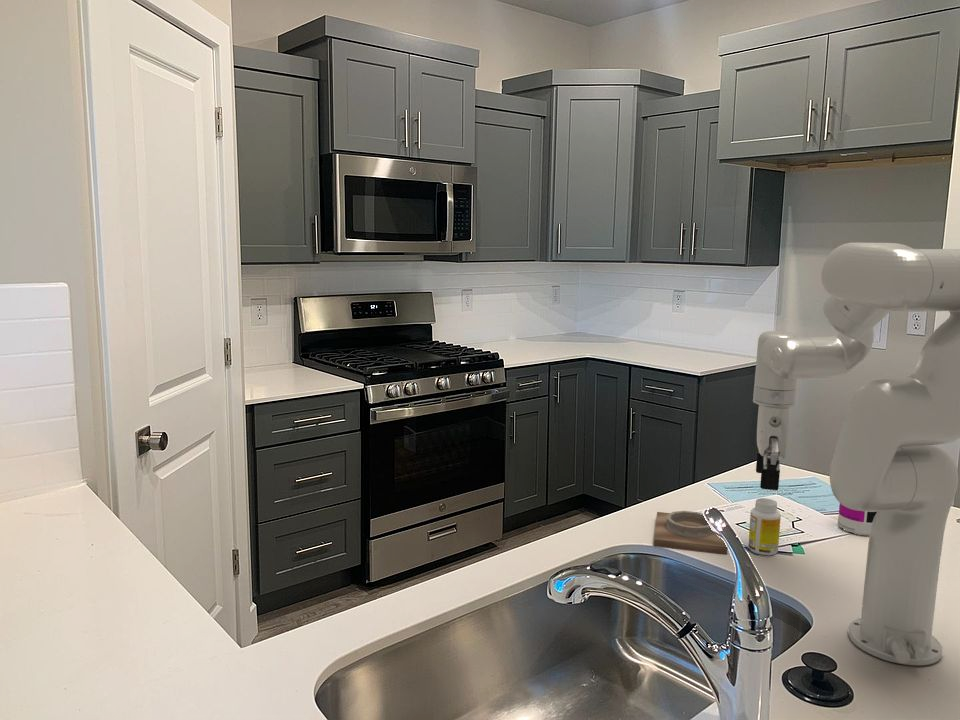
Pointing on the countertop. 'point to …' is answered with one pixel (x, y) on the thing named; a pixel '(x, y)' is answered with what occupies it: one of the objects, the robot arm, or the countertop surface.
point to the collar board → (686, 532)
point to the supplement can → (855, 520)
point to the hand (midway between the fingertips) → (766, 480)
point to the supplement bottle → (764, 527)
